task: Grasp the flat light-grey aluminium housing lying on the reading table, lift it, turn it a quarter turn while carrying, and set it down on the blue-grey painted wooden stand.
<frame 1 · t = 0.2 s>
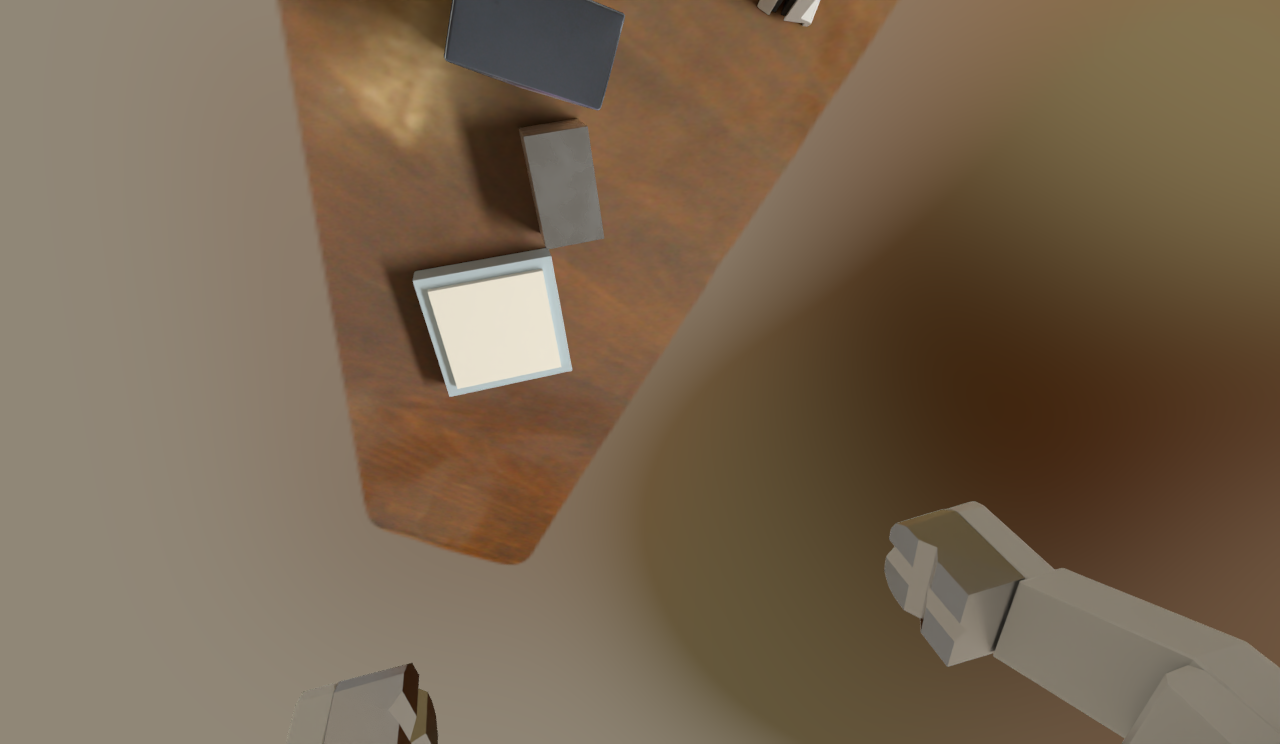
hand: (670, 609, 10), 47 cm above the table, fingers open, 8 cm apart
housing: (557, 177, 52), on the table
small box: (521, 35, 46), on the table
stand: (497, 318, 56), on the table
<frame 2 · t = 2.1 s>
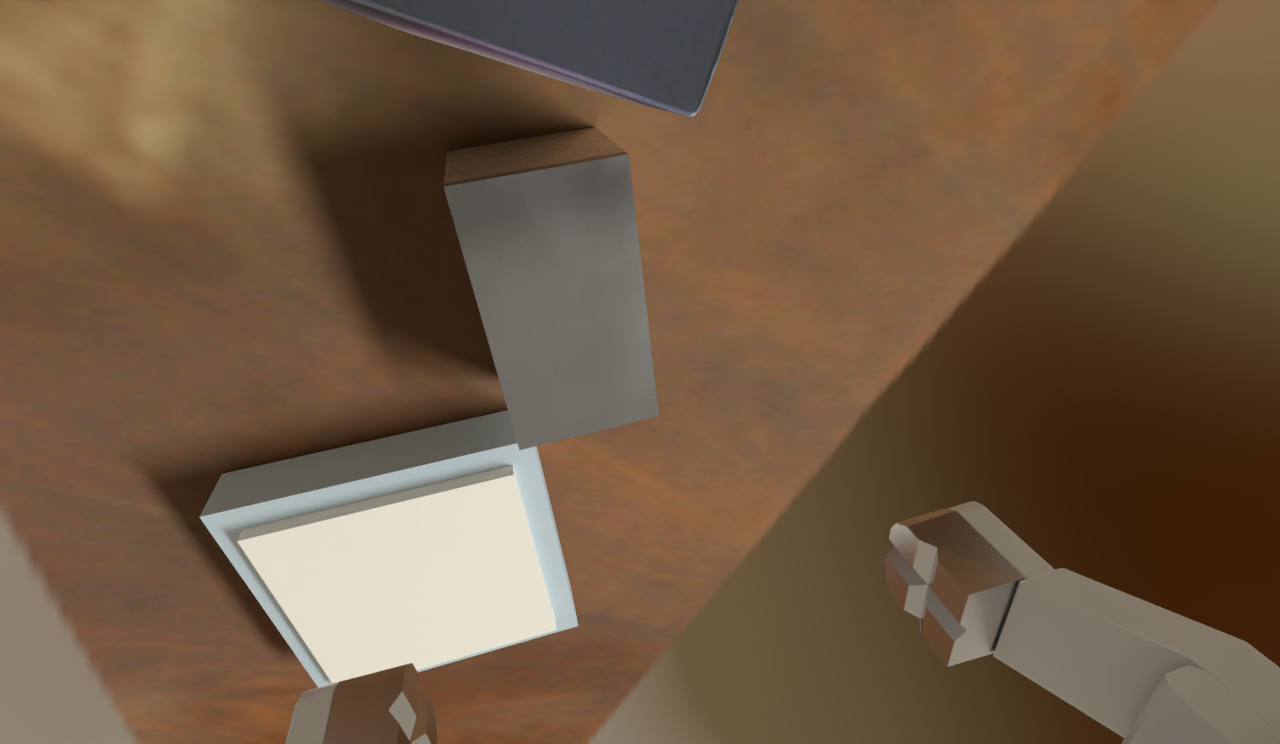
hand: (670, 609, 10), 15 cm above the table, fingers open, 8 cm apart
housing: (548, 262, 22), on the table
stand: (423, 539, 27), on the table
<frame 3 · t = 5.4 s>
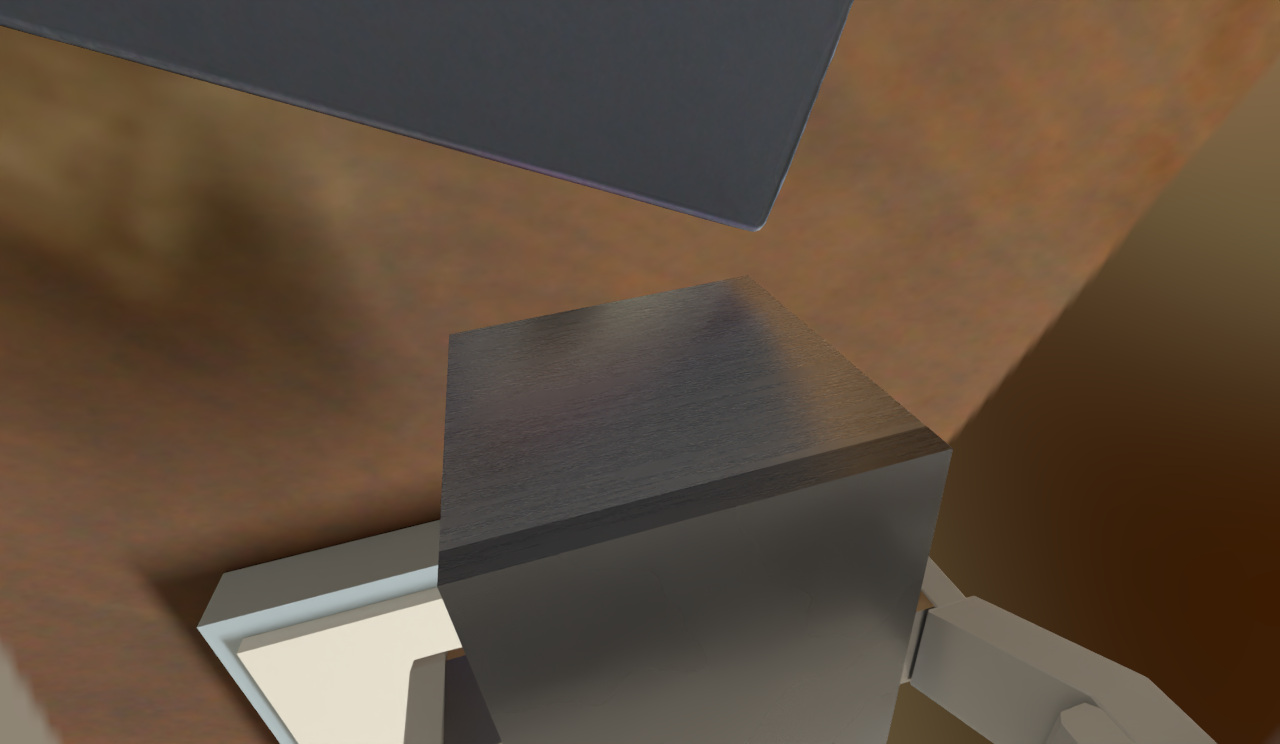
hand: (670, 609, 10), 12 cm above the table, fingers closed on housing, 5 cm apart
housing: (633, 505, 12), point 10 cm above the table, touching gripper
stand: (437, 634, 25), on the table
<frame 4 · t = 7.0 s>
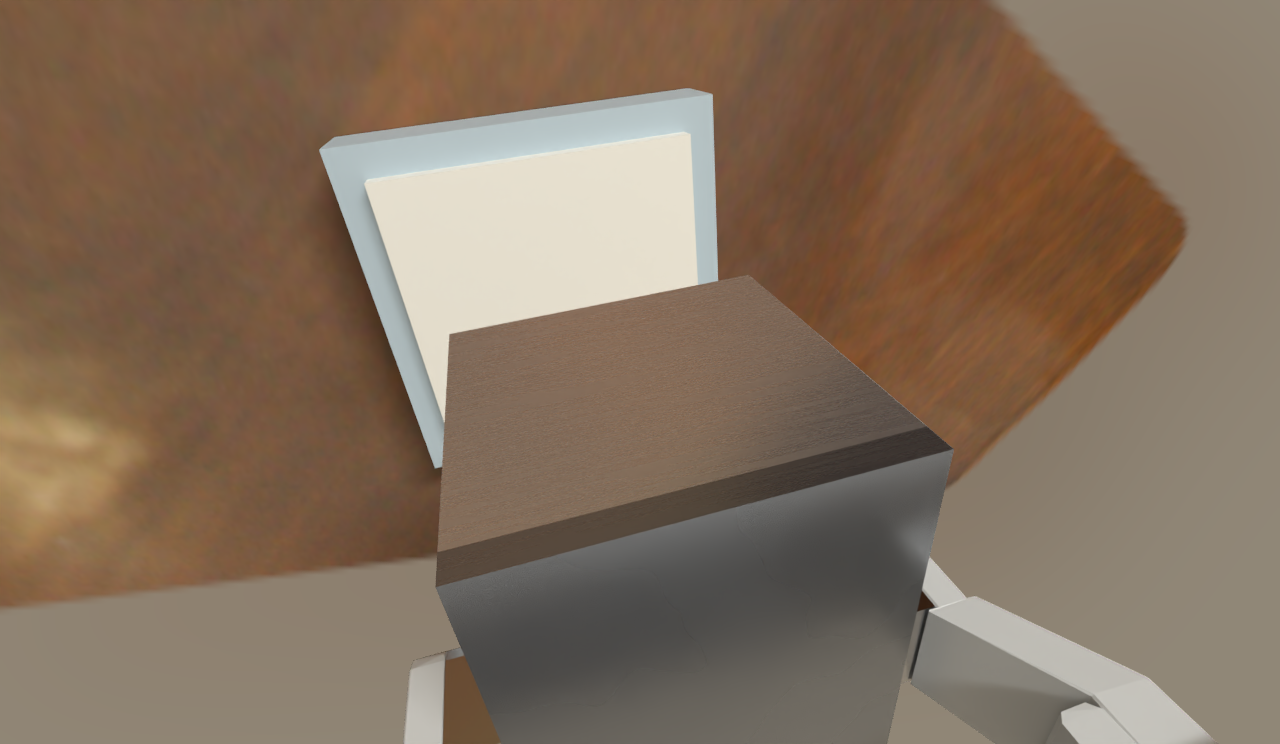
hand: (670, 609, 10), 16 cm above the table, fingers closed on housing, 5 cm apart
housing: (634, 505, 12), point 13 cm above the table, touching gripper
stand: (551, 276, 23), on the table
when the fingers open (6 cm above the table, at t = 9.4 s): housing stays where it is, resting on stand.
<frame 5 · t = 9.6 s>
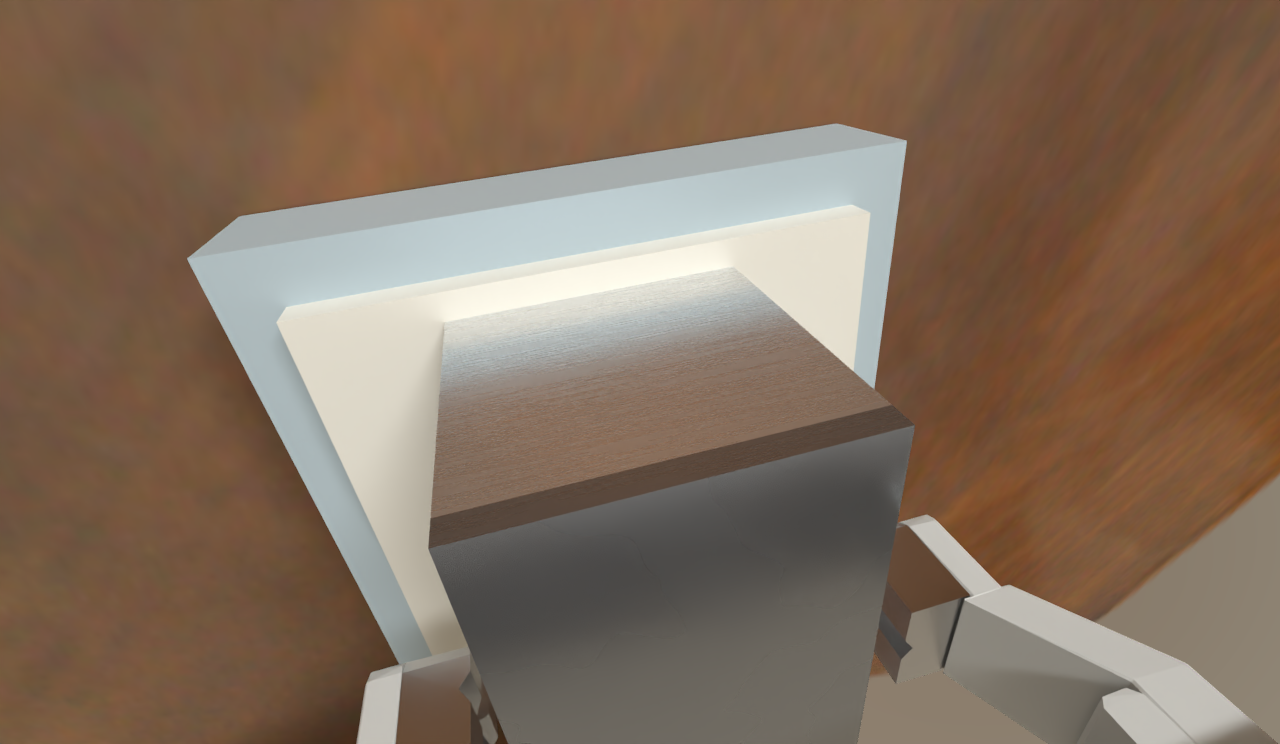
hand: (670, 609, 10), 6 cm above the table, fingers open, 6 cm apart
housing: (624, 490, 12), point 3 cm above the table, touching stand
stand: (602, 411, 15), on the table
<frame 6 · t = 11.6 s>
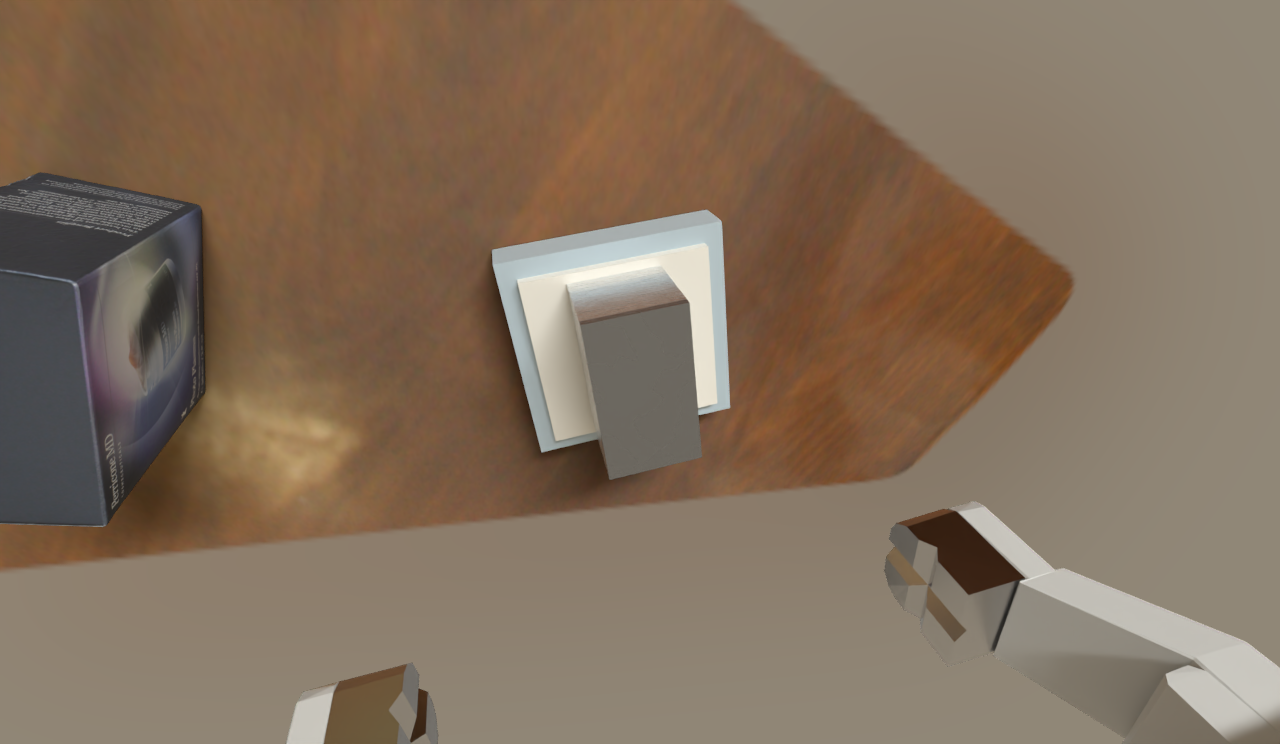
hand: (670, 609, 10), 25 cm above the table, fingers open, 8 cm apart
housing: (625, 350, 33), point 3 cm above the table, touching stand
small box: (136, 293, 29), on the table
stand: (617, 326, 35), on the table
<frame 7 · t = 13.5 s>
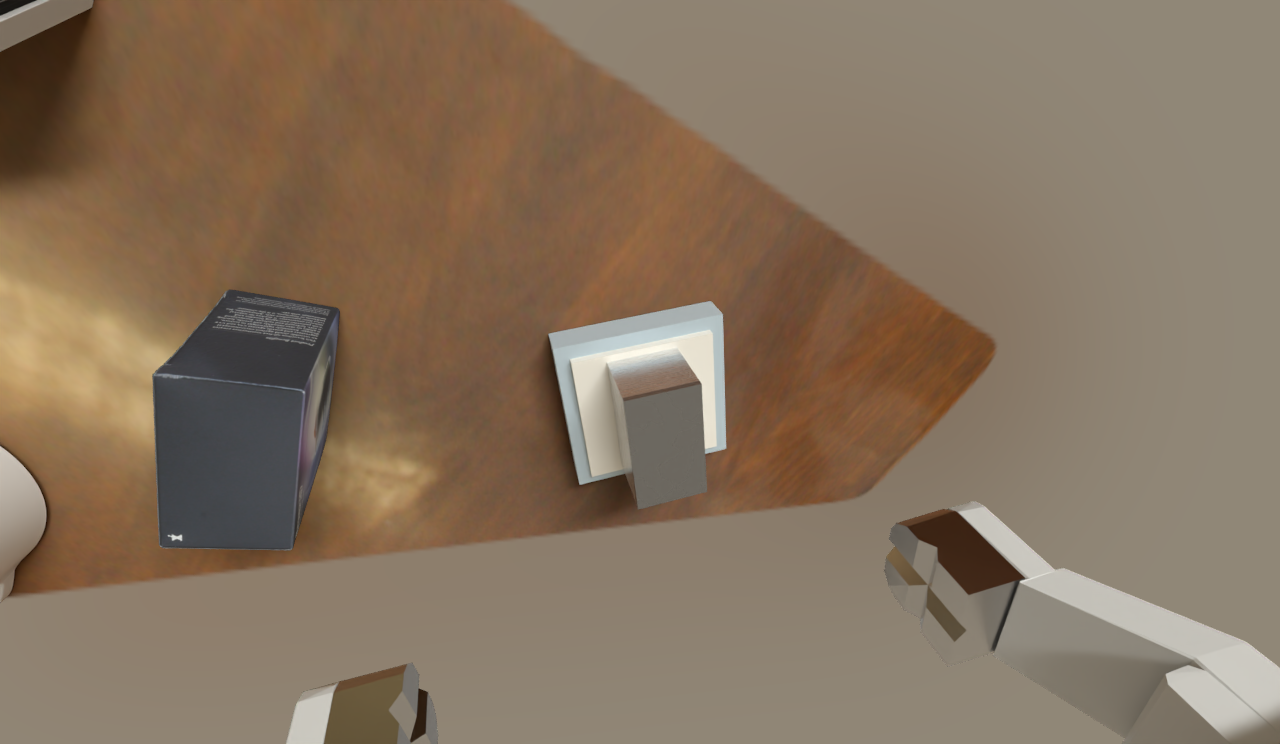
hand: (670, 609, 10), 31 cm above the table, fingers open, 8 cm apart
housing: (648, 408, 43), point 3 cm above the table, touching stand
small box: (283, 370, 38), on the table
stand: (639, 387, 45), on the table
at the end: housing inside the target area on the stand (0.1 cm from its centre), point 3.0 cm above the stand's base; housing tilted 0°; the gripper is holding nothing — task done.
